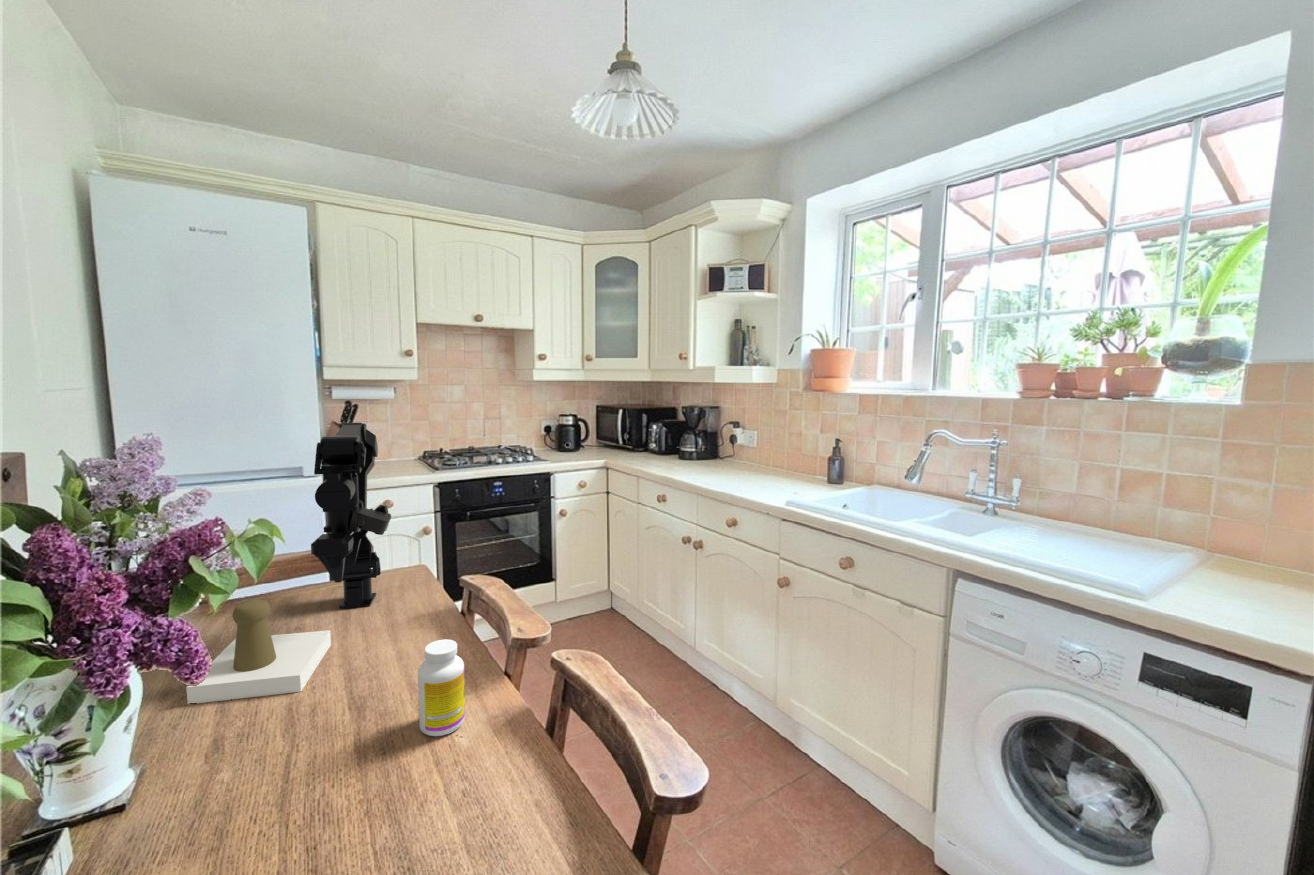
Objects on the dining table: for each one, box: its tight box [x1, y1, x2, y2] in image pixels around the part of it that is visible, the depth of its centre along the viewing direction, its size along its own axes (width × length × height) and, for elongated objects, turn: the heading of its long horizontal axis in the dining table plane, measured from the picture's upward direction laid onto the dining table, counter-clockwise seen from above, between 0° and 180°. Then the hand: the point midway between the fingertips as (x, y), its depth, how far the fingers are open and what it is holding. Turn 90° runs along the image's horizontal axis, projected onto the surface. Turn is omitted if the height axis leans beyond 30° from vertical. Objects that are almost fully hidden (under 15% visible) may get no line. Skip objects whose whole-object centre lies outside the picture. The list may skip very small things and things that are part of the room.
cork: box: [232, 598, 276, 672], centre depth 92 cm, size 6×6×11 cm
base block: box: [185, 629, 332, 704], centre depth 95 cm, size 16×16×3 cm
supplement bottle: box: [417, 638, 466, 737], centre depth 82 cm, size 7×7×13 cm
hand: (345, 573), depth 108 cm, fingers open, 9 cm apart
